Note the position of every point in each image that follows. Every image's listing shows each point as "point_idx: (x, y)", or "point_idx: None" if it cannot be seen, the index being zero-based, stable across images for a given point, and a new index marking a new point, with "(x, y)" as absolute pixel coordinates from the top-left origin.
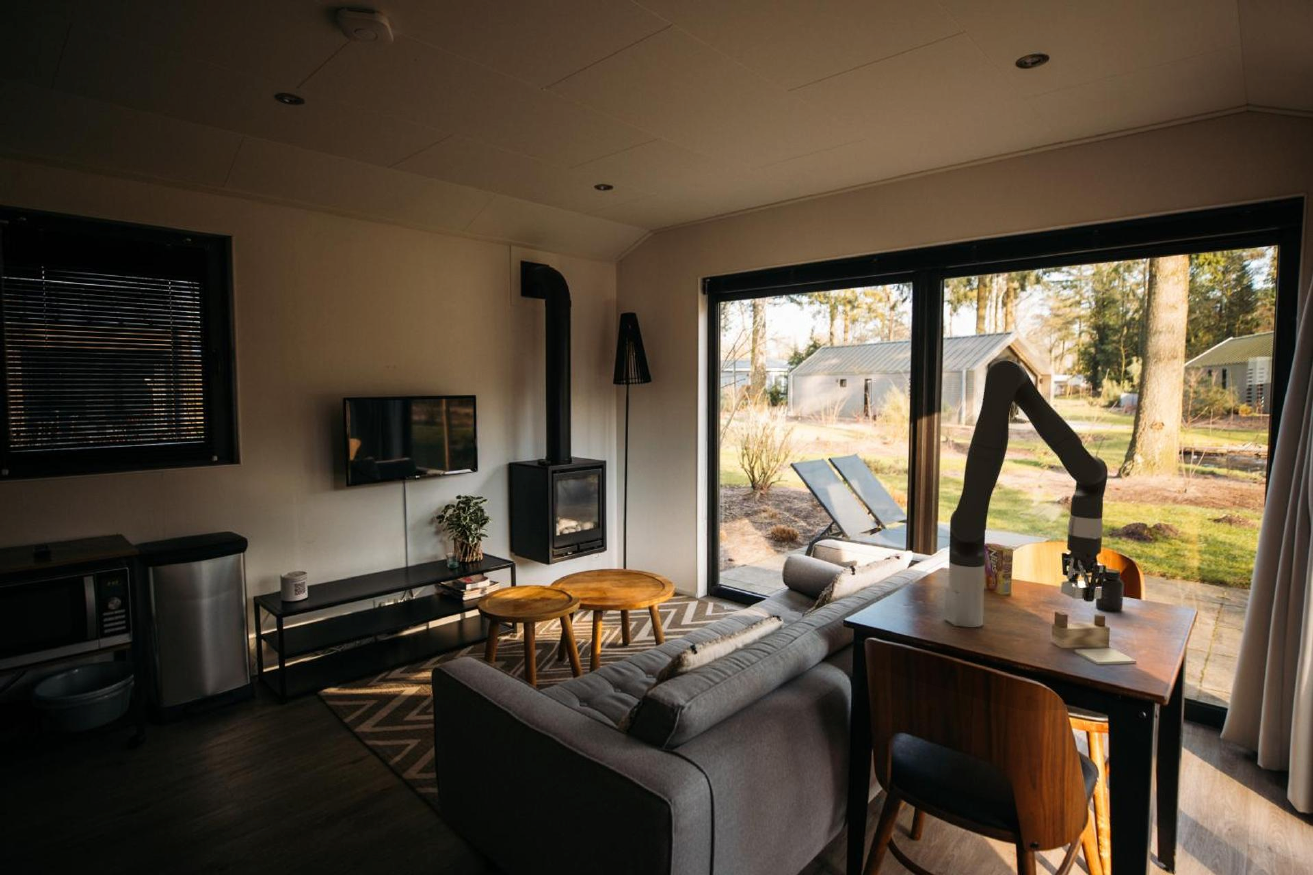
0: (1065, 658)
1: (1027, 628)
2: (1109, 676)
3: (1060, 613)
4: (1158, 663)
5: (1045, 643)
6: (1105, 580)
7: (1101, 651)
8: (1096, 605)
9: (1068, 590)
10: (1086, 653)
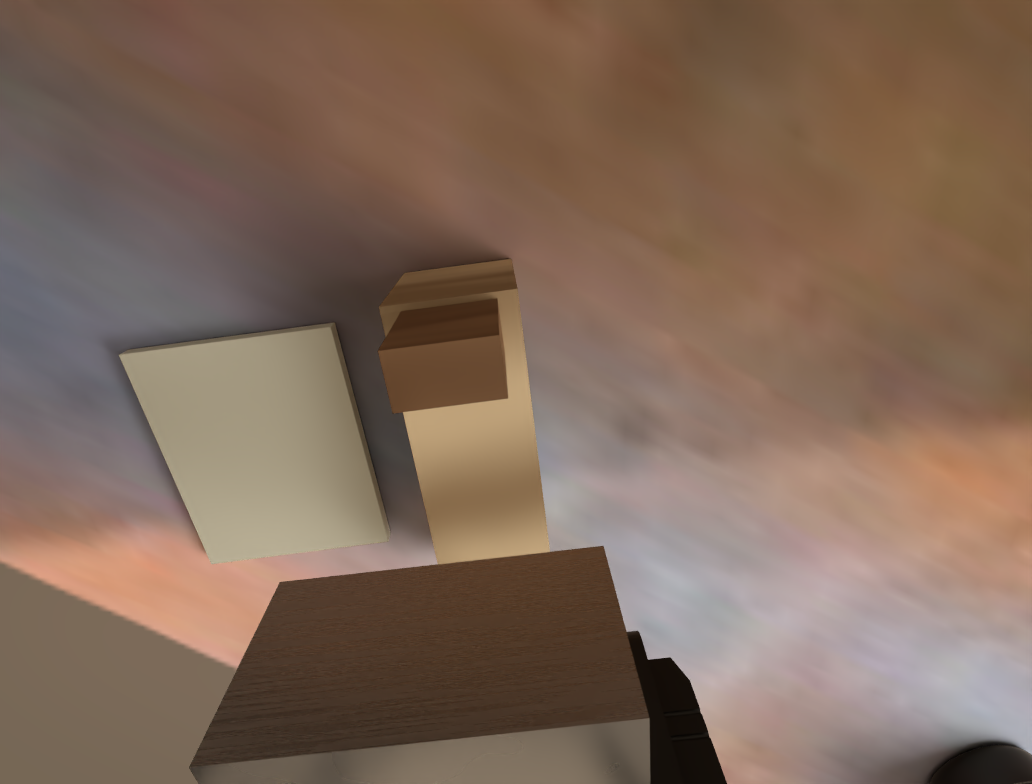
0: (189, 191)
1: (799, 228)
2: None
3: (428, 358)
4: (240, 639)
5: (486, 201)
6: None
7: (328, 466)
8: (1019, 754)
9: (428, 631)
10: (269, 363)
